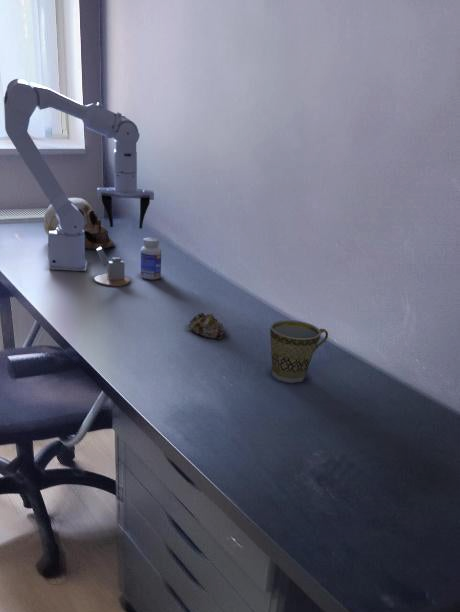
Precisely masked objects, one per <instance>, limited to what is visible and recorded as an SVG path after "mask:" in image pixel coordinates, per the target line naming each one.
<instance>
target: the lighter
mask: <svg viewBox="0 0 460 612" xmlns="http://www.w3.org/2000/svg"><path fill="white" fill-rule="evenodd" d="M95 251H96V253H97V255H98V257H99V259H100V261H101V263H102V264H103V265H104V266H106V265H107V269H106V271H107V272H106V274H107V275H108V279H109V280H121V279H124V276H126V275H125V274H126V273H125V267H126V263H125V261H124V260H122V258H121V257H117V256H116V257H111V260H108V257H107V255H106V253H105V251H104V249H102V248H101V247H99V248H97V249H95Z"/></svg>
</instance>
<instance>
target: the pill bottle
mask: <svg viewBox="0 0 460 612" xmlns="http://www.w3.org/2000/svg"><path fill="white" fill-rule="evenodd" d="M142 243H143V246H142V247H141V248H140V277H141V278H143V279H146V280H159V279H160V278H161V275H162V249H161V248H160V247H159V245H160V239H159V238H157V237H151V236H150V237H149V236H147V237H144V238H143V241H142Z"/></svg>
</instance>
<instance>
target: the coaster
mask: <svg viewBox="0 0 460 612" xmlns="http://www.w3.org/2000/svg"><path fill="white" fill-rule="evenodd" d="M94 282H95V283H97V284H99V285H102V286H106V287H123V286H126V285H128V284H130V282H131V280H130V277H128V276H127V275H125V276H124V279H121V280H109V279H108V275H107V273H102V274H98V275H96V276H94Z"/></svg>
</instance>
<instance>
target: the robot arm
mask: <svg viewBox="0 0 460 612" xmlns="http://www.w3.org/2000/svg"><path fill="white" fill-rule="evenodd" d="M3 106H4V107H3V108H4V109H3V110H4V128H5V129H4V130H5V133H6V134H7V137H8V138H9V139H10V141H11V142H12V145H13V146H14V148H15V149H16V150H17V152H18V154H19V155H20V157H21V158H22V160H23V162H24V163H25V165H26V166H27V168H28V170H29V172H30V173H31V174H32V176H33V178H34V180H35V181H36V182H37V184H38V186H39V187H40V189H41V190H42V192H43V194H44V195H45V197H46V198H47V200H48V202H49V203H50V205H52V206H53V208H54V210H55V215H56V218H57V220H58V222H59V223H60V224H59V225H58V227H57V228H56V231H49V233H48V235H47V246H48V248H47V249H48V254H47V257H48V266H49V267H48V269H49V270H56V271H75V272H86V271H87V267H88V261H87V260H86V248H85V240H84V230H83V228H84V225H85V220H84V217H83V215H82V213H81V212H80V211H79V209H78V207H77V206H76V205H75V204H74V203H73V202H71V201H70V200H69V199H68V198H69V197H68V196H67V194H66V193H65V191H64V189H63V187H62V186H61V184H60V183H59V181H58V180H57V178H56V176H55V174H54V173H53V171H52V170H51V168H50V167H49V164H48V163H47V161H46V159H45V158H44V157H43V154H42V153H41V152H40V150H39V149H38V147H37V145H36V144H35V142H34V140H33V138H32V137H31V135H30V134H29V131H28V129H29V125H30V121H31V117H32V116H33V114H34V112H35V111H36V108H38V110H45V109H49V108H50V109H51V108H52V109H54V110H56V111H59V112H62V113H63V114H66V115H69V116H71V117H73V118H74V117H75V118H77V119H79V120H81V121H82V123H83V125H84V127H85V128H86V129H87V130H89V131H92V132H94V133H97V134H99V135H102V136H104V137H106V138H108V139H114V141H113V143H114V144H113V145H114V146H113V147H114V150H113V161H114V162H113V174H114V177H113V178H114V179H113V180H114V187H97V189H96V192H97V198H101V203H102V204H103V207H104V209H105V211H106V215H107V218H108V222H109V227H110V228H113V227H114V218H113V198H119V199H121V198H122V199H137V200H138V199H139V221H138V222H139V223H138V224H139V225H138V227H139V229H143V225H144V224H143V223H144V219H145V216H146V213H147V210H148V208H149V206H150V203H151V201H154V200H155V191H154V190H150V189H144V188H143V189H142V188H138V152H137V143H138V142H139V139H140V133H139V129H138V126H137V124H136V123H135V122H134V121H133V120H131V119H130V118H127V117H126V116H125V115H122V113H120V112H119V111H117V112H116V113H115V112H114V111H111V110H110V109H107V108H106V107H104V104H102V103H100V102H96V103H94V102H92V103H90V104H89V103H88V104H87V105H84V104H82V103H79V102H78V101H76V100H73V99H71V98H70V97H67V96H65V95H64V94H61V93H59V92H57V91H55V90H53V89H51V88H49V87H46V86H43V85H41V84H37V83H34V82H30V83H29V82H27V81H26V80H25V79H23V78H22V79H21V78H15V79H12V80H11V81H9V82H8V83H7V86H6V89H5V92H4V96H3Z"/></svg>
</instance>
